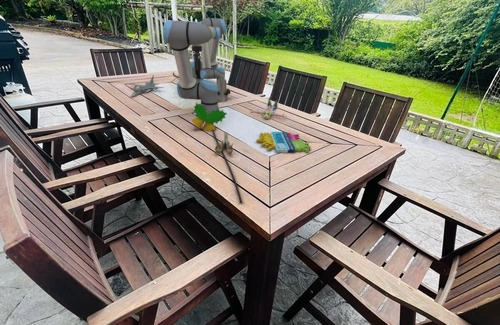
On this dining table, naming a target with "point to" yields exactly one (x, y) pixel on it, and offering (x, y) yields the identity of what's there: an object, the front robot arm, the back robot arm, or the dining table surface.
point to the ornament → (207, 117)
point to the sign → (283, 142)
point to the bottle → (221, 89)
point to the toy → (269, 111)
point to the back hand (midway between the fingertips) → (222, 94)
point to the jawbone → (224, 145)
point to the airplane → (145, 87)
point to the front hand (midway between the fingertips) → (197, 78)
